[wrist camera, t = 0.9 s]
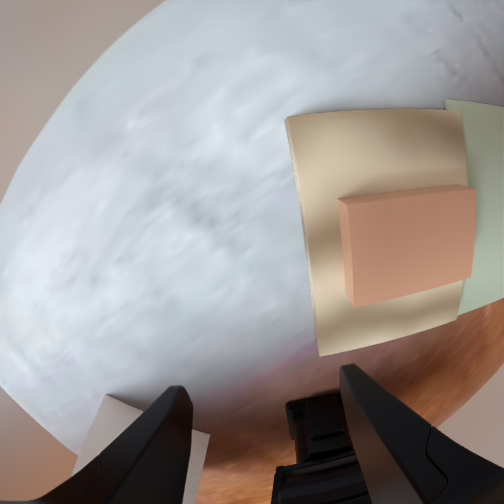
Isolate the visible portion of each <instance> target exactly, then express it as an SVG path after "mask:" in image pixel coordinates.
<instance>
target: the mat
mask: <svg viewBox="0 0 504 504" xmlns="http://www.w3.org/2000/svg"><path fill="white" fill-rule="evenodd" d="M444 104H445V110H456V111H460V114H461V121H462V127H463V135H464V143H465V152H466V164H467V181H468V187H471V188H475V189H476V223H475V242H474V254H473V264H472V272H471V278H467V279H464V280H463V285H462V292H461V299H460V304H459V310H458V315H461V314H464V313H466V312H469V311H472V310H474V309H477V308H480V307H482V306H485V305H487V304H490V303H492V302H495V301H497V300H499V299H502V298H504V107H502V106H496V105H490V104H484V103H477V102H469V101H460V100H450V99H445V100H444ZM458 315H457V316H458Z"/></svg>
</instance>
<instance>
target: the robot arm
mask: <svg viewBox="0 0 504 504" xmlns="http://www.w3.org/2000/svg"><path fill="white" fill-rule="evenodd" d="M340 392H341V393H337V394H332V395H328V396H322V397H317V398H312V399H306V400H300V401H294V402H288V403H287V404H286V413H287V418H288V423H289V428H290V434H291V439H292V440H295V451H296V461H297V464H293V465H288V466H278V467H277V468H276V474H275V475H274V483H273V491H272V499H271V504H504V468H503V467H500V466H498V465H496V464H494V463H492V462H490V461H488V460H487V459H484V458H483V457H481V456H479V455H477V454H475V453H473V452H471V451H470V450H468V449H466V448H464V447H463V446H461V445H460V444H458V443H456V442H455V441H453V440H452V439H450V438H449V437H448V436H446V435H445V434H443V433H442V432H441V431H439V430H438V429H437V428H435V427H434V426H432V425H431V424H430V423H429V422H427V421H426V420H425V419H424V418H422V417H421V416H420V415H418V414H417V413H416V412H415V411H413V410H412V409H411V408H409V407H408V406H407V405H406V404H404V403H403V402H402V401H401V400H399V399H398V398H397V397H396V396H394V395H393V394H392V393H390V392H389V391H388V390H387V389H385V388H384V387H383V386H382V385H380V384H379V383H378V382H377V381H375V380H374V379H373V378H372V377H370V376H369V375H368V374H367V373H365V372H364V371H363V370H362V369H360V368H359V367H358V366H357V365H356V364H354V363H350V364H346V365H342V366H340ZM192 421H193V404H192V401H191V399H190V397H189V395H188V393H187V391H186V389H185V387H184V386H181V385H178V386H170V387H169V388H168V389H167V390H166V391H165V392H164V393H162V394H161V395H160V396H159V397H158V398H157V399H156V400H155V401H154V402H153V403H152V404H151V405H150V406H149V407H148V408H147V409H146V410H145V411H144V412H143V413H142V414H141V415H140V416H139V417H138V418H137V419H136V420H135V421H134V422H132V423H131V424H130V425H129V426H128V427H127V428H126V429H125V430H124V431H123V432H122V433H121V434H120V435H119V436H118V437H117V438H116V439H114V440H113V441H112V442H111V443H110V444H109V445H108V446H107V447H106V448H105V449H104V450H103V451H101V452H100V453H99V455H97V456H96V457H95V458H94V459H93V460H91V461H90V462H89V463H88V464H87V465H86V466H84V467H83V468H82V469H81V470H80V471H78V472H77V473H76V474H74V475H73V476H72V477H70V478H69V479H68V480H66V481H65V482H63V483H62V484H60V485H59V486H57V487H56V488H54V489H53V490H51V491H50V492H48V493H47V494H46V495H44V496H42V497H40V498H37V499H34V500H29V501H0V504H182V503H183V497H184V491H185V484H186V478H187V472H188V466H189V460H190V454H191V444H192ZM431 426H432V427H431Z"/></svg>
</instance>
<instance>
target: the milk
mask: <svg viewBox="0 0 504 504" xmlns="http://www.w3.org/2000/svg"><path fill="white" fill-rule="evenodd" d="M143 412H144V411H142V410H139V409H137V408H134V407H132V406H130V405H128V404H125V403H123V402H121V401H119V400H117V399H115V398H112V397H110V396H108V395H106V394H105V397H104V399H103V401H102V403H101V405H100V407H99V410H98V412H97V414H96V416H95V419H94V421H93V423H92V426H91V428H90V430H89V433H88V435H87V437H86V440H85V442H84V445H83V447H82V449H81V452H80V454H79V457H78V459H77V462H76V465H75V467H74V470H73V472H72V475H71V477H72V476H73V475H74V474H76V473H77V472H78V471H80V470H81V469H82V468H83V467H84V466H86V465H87V464H88V463H89V462H90V461H91V460H93V459H94V458H95V457H96V456H97V455H99V453H100V452H101V451H103V450H104V449H105V448H106V447H107V446H108V445H109V444H110V443H111V442H112V441H113V440H114V439H116V438H117V437H118V436H119V435H120V434H121V433H122V432H123V431H124V430H125V429H126V428H127V427H128V426H129V425H130V424H131V423H132V422H134V421H135V420H136V419H137V418H138V417H139V416H140V415H141V414H142V413H143ZM209 438H210V435H209V434H206V433H203V432H199V431H196V430H193V429H192V444H191V454H190V460H189V466H188V472H187V478H186V484H185V491H184V497H183V503H182V504H195V501H196V497H197V492H198V488H199V483H200V479H201V474H202V470H203V465H204V461H205V456H206V452H207V447H208V443H209Z"/></svg>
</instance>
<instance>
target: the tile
mask: <svg viewBox="0 0 504 504" xmlns="http://www.w3.org/2000/svg"><path fill="white" fill-rule="evenodd" d="M337 202H338V211H339V220H340V229H341V240H342V252H343V265H344V280H345V293H346V295H347V296H348V298H349V300H350V302H351V303H352V305H353V307H354V308H355V307H360V306H365V305H369V304H374V303H378V302H382V301H386V300H391V299H395V298H399V297H403V296H407V295H411V294H415V293H418V292H422V291H426V290H430V289H433V288H437V287H440V286H444V285H447V284H451V283H454V282H458V281H461V280H464V279H467V278H471V272H472V264H473V254H474V242H475V223H476V189H475V188H471V187H467V186H463V185H460V184H453V185H443V186H434V187H425V188H417V189H408V190H400V191H392V192H384V193H377V194H369V195H362V196H355V197H348V198H341V199H337Z"/></svg>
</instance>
